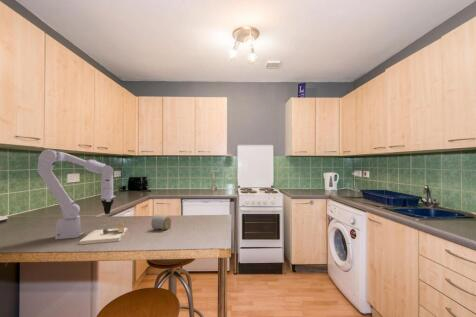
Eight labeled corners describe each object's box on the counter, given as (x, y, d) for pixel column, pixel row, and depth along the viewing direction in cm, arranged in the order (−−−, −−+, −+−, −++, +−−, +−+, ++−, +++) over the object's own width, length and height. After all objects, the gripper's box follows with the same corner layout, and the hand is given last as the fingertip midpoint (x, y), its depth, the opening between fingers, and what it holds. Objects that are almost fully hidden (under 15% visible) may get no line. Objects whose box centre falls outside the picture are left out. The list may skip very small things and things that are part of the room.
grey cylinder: (164, 231, 123) (164, 216, 123) (150, 230, 125) (151, 216, 125) (174, 226, 133) (174, 213, 133) (162, 225, 135) (162, 212, 135)
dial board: (79, 244, 104) (79, 240, 104) (93, 233, 122) (93, 230, 122) (118, 241, 108) (118, 237, 108) (127, 230, 126) (127, 227, 126)
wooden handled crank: (102, 233, 114) (102, 223, 114) (103, 232, 116) (103, 222, 116) (122, 232, 116) (122, 221, 116) (123, 231, 118) (123, 220, 118)
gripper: (117, 188, 121) (117, 215, 121) (114, 186, 133) (114, 210, 133) (101, 189, 117) (101, 216, 117) (99, 187, 129) (99, 212, 129)
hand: (107, 213), depth 124 cm, fingers closed
